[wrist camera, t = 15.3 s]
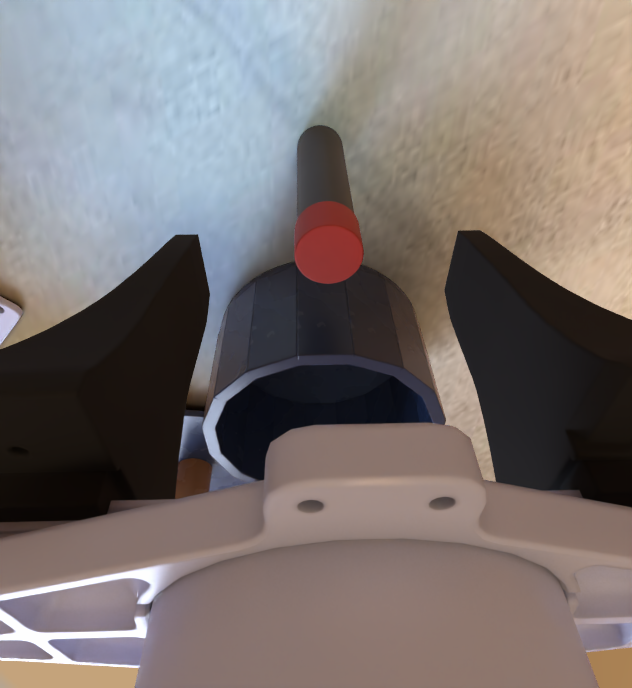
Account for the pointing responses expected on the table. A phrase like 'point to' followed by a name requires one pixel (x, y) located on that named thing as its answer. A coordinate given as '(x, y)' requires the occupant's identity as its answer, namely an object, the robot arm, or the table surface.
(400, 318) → the tin
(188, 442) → the lid
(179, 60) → the table surface
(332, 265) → the marker
